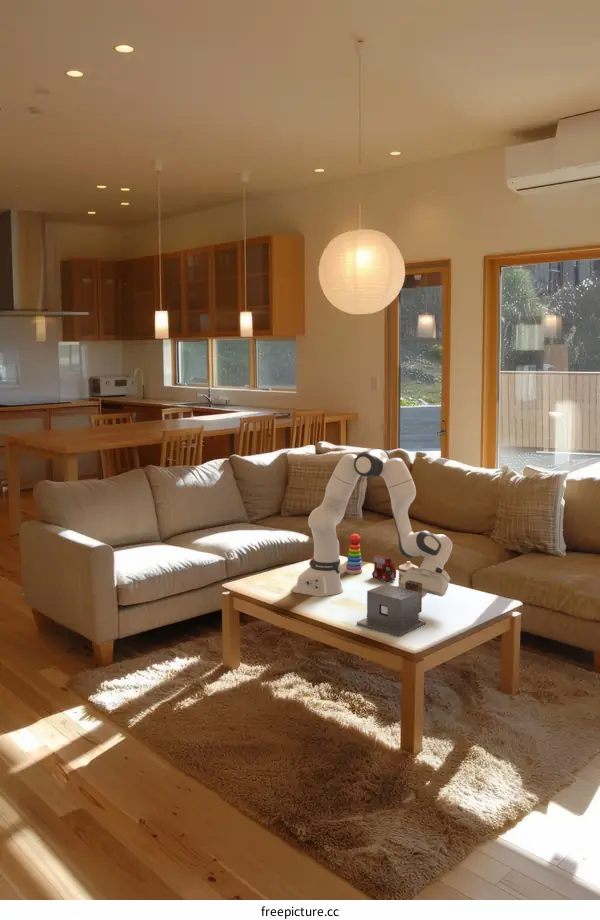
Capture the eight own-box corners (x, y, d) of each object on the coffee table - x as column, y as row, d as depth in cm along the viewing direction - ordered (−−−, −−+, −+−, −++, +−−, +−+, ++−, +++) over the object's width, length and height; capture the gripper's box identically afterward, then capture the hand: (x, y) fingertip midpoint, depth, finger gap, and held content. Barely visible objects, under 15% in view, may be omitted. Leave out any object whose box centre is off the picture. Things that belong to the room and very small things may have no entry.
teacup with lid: (394, 588, 362) (395, 562, 361) (402, 582, 370) (402, 557, 368) (420, 592, 357) (420, 566, 355) (427, 586, 364) (427, 561, 363)
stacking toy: (352, 575, 381) (353, 536, 378) (342, 571, 387) (342, 533, 384) (365, 572, 386) (365, 534, 383) (354, 569, 392) (355, 531, 389)
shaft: (408, 608, 331) (409, 580, 329) (421, 612, 327) (422, 583, 325) (377, 622, 316) (377, 592, 314) (390, 626, 312) (391, 596, 310)
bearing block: (384, 613, 330) (384, 581, 328) (425, 624, 317) (426, 592, 315) (356, 624, 317) (356, 592, 315) (398, 637, 304) (399, 603, 302)
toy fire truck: (390, 583, 369) (390, 561, 368) (369, 577, 378) (369, 556, 376) (399, 580, 374) (400, 558, 373) (378, 574, 383) (379, 553, 381)
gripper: (406, 562, 339) (392, 590, 334) (448, 571, 326) (434, 601, 320) (412, 570, 343) (398, 598, 338) (454, 579, 330) (440, 609, 324)
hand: (416, 599), depth 329 cm, fingers closed, pressing on shaft
